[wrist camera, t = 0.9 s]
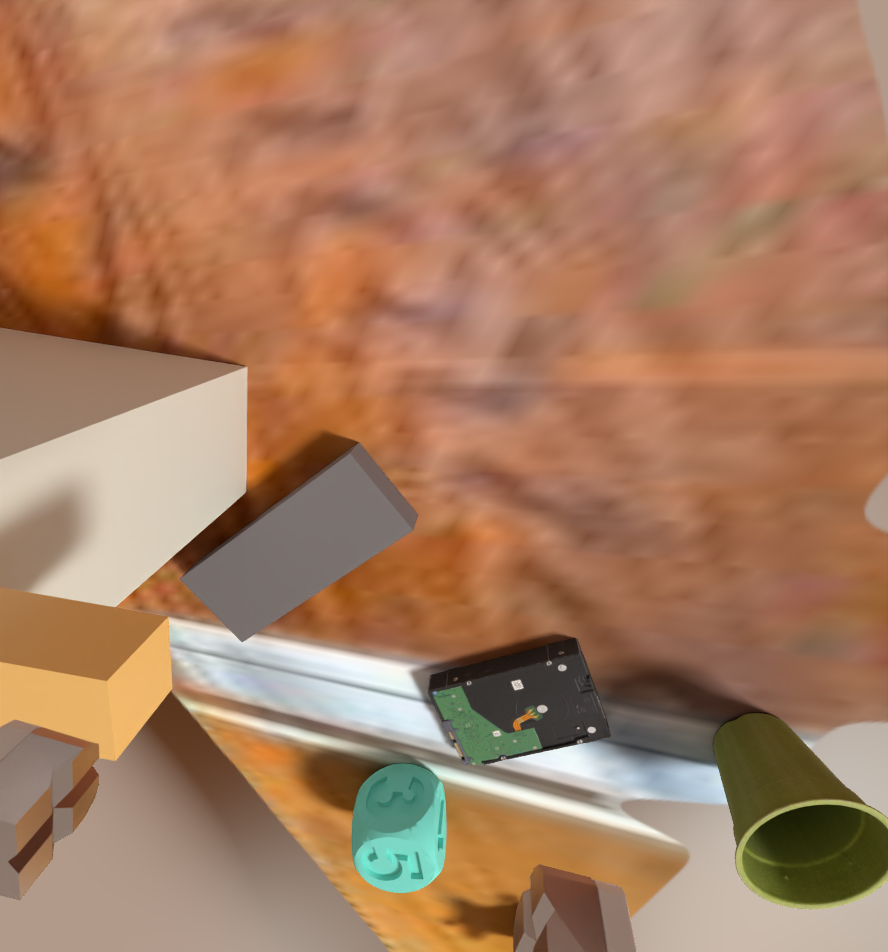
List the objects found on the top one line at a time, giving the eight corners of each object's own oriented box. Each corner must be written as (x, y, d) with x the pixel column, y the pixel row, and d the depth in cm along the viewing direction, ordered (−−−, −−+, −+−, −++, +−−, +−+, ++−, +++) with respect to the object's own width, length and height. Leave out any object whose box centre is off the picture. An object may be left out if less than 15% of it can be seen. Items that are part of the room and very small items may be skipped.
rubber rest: (197, 561, 50) (179, 578, 47) (358, 442, 45) (349, 453, 42) (255, 622, 52) (242, 642, 49) (418, 514, 46) (413, 530, 44)
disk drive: (575, 631, 50) (427, 672, 53) (579, 650, 47) (424, 693, 50) (607, 715, 53) (466, 749, 56) (613, 738, 50) (465, 772, 53)
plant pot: (823, 776, 52) (905, 902, 42) (696, 792, 55) (744, 915, 44) (815, 680, 49) (902, 792, 38) (679, 701, 51) (727, 812, 40)
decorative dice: (448, 816, 59) (442, 894, 52) (377, 816, 60) (360, 893, 53) (439, 760, 56) (430, 835, 49) (365, 762, 57) (345, 835, 50)
